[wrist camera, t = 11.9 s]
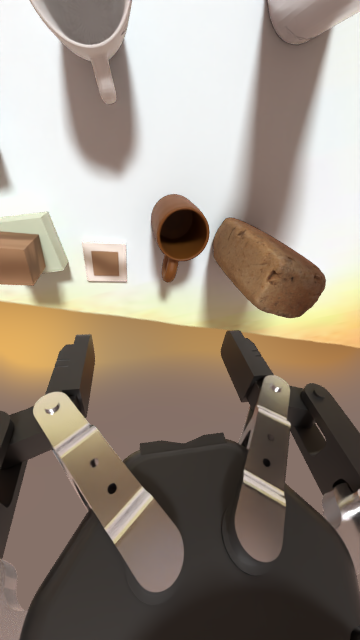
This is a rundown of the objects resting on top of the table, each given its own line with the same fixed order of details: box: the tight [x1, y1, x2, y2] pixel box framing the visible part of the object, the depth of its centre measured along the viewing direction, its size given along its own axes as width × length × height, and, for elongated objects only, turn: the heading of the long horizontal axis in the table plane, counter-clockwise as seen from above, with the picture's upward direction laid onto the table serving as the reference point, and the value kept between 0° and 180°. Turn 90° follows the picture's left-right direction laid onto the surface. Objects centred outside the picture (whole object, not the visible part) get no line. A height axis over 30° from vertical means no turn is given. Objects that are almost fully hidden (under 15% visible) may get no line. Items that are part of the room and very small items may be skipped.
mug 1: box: [30, 0, 132, 104], centre depth 21 cm, size 11×8×10 cm
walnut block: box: [0, 231, 46, 286], centre depth 31 cm, size 5×5×6 cm
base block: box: [0, 212, 68, 273], centre depth 35 cm, size 8×8×4 cm
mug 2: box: [151, 194, 209, 282], centre depth 36 cm, size 12×8×9 cm, turn 163°
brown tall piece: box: [213, 218, 326, 318], centre depth 35 cm, size 11×8×20 cm
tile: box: [82, 241, 127, 282], centre depth 40 cm, size 7×7×1 cm
